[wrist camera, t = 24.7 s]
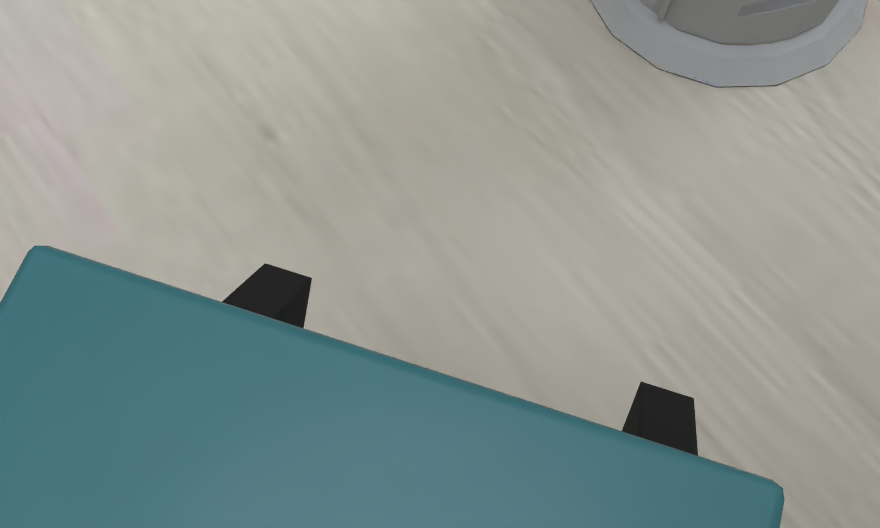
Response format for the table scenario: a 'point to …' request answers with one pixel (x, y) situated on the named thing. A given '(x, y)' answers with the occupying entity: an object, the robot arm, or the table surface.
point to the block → (297, 428)
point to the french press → (734, 36)
